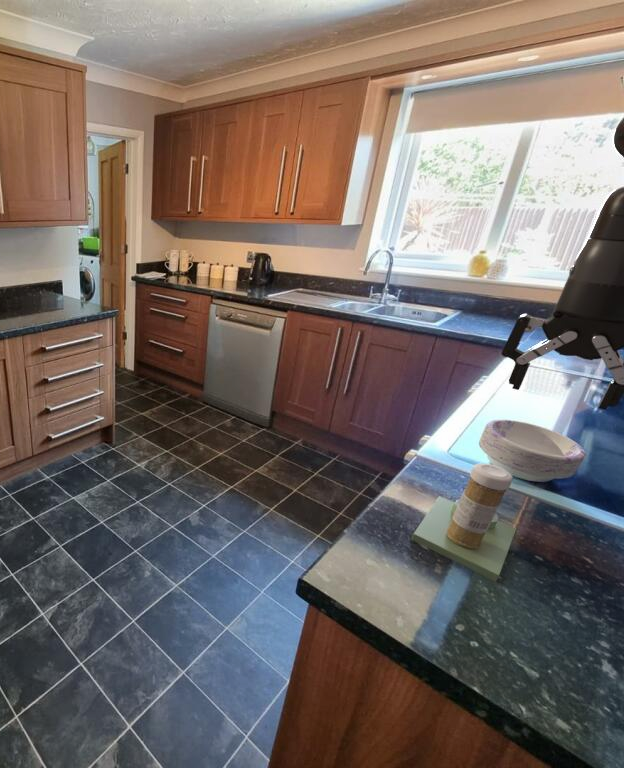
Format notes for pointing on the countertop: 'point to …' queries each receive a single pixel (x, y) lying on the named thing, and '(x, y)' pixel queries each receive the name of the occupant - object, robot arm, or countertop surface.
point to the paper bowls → (530, 450)
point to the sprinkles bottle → (478, 504)
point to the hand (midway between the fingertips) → (556, 397)
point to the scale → (479, 560)
